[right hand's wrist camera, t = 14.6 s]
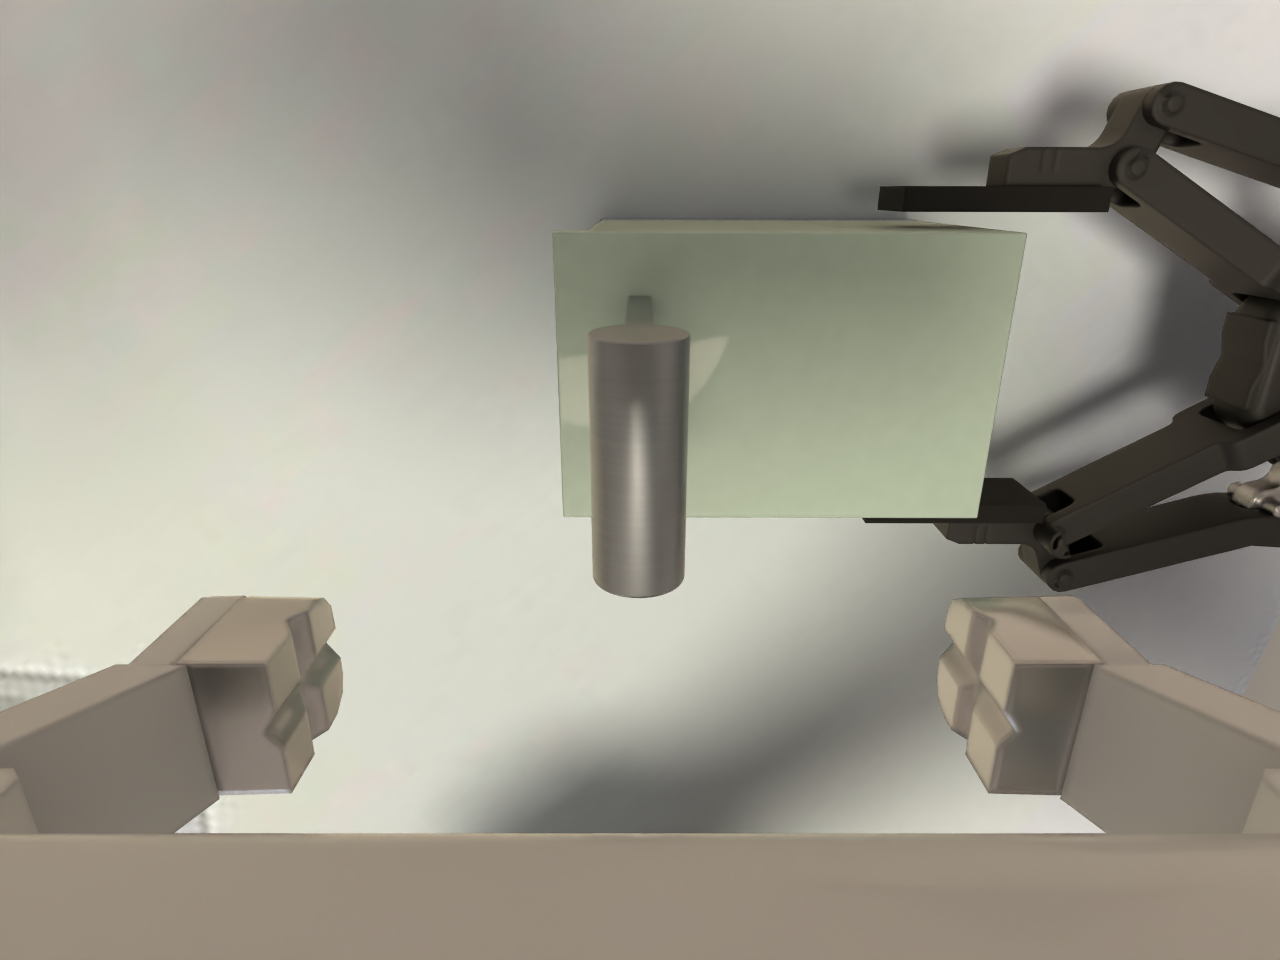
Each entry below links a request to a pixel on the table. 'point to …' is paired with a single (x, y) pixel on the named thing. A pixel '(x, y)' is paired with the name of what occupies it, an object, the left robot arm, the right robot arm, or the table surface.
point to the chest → (778, 225)
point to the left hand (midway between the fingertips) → (872, 359)
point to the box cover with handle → (772, 380)
